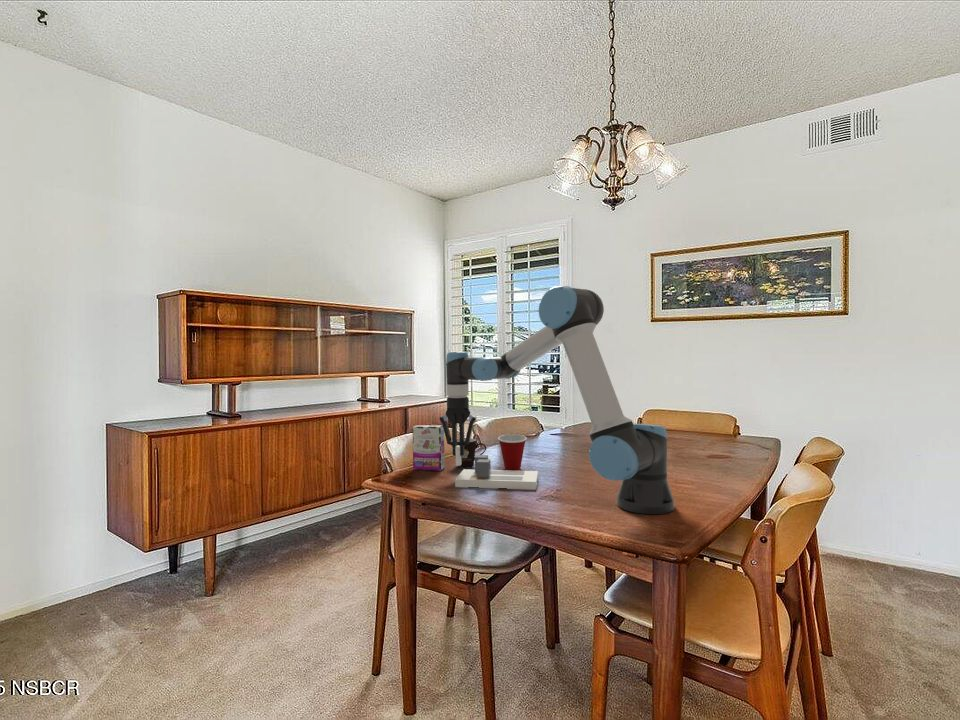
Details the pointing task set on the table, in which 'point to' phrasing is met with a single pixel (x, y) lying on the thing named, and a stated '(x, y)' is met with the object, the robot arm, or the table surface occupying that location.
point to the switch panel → (498, 479)
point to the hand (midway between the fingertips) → (458, 464)
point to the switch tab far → (479, 458)
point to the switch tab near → (483, 468)
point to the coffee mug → (469, 453)
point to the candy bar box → (428, 447)
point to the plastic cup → (512, 450)
